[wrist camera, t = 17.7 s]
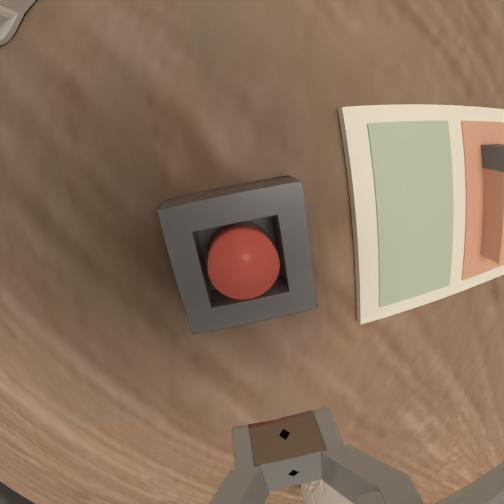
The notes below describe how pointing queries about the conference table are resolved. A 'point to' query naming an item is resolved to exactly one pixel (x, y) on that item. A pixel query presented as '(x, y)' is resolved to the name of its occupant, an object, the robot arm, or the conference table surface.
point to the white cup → (321, 494)
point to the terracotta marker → (493, 202)
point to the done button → (242, 260)
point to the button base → (228, 212)
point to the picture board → (416, 202)
